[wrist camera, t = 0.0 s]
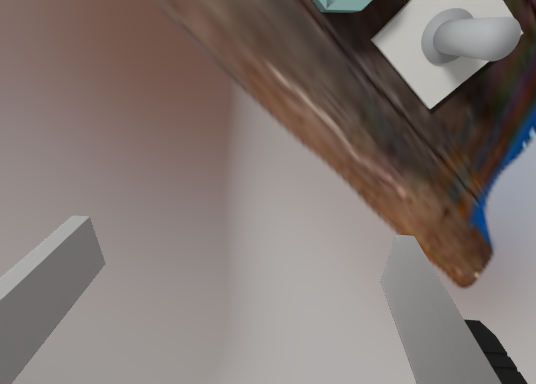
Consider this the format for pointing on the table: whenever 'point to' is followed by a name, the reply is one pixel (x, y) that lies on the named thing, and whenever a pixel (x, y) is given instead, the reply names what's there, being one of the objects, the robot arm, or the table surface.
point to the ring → (341, 5)
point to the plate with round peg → (446, 42)
